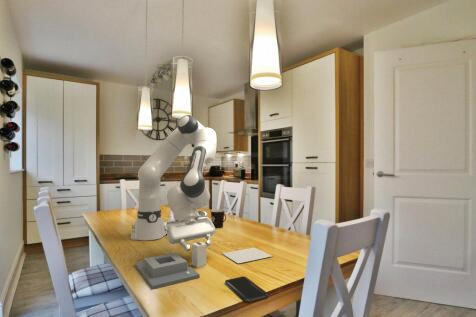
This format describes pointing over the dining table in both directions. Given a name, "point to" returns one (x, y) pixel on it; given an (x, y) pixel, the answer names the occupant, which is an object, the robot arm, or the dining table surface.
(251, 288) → the phone
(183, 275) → the power dock
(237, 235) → the dining table surface
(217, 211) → the coffee mug
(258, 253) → the paper stack
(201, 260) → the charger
